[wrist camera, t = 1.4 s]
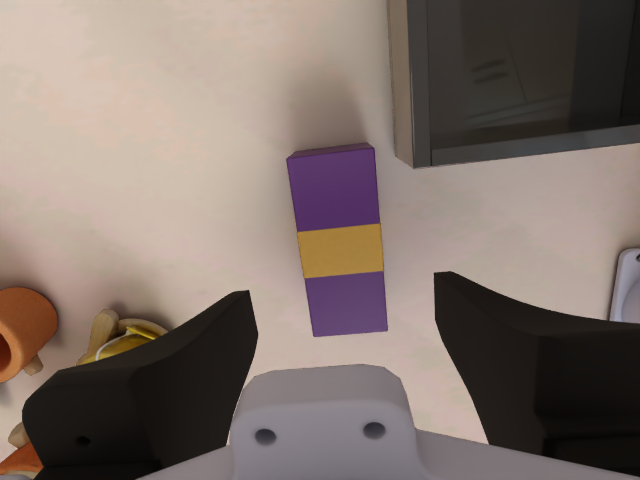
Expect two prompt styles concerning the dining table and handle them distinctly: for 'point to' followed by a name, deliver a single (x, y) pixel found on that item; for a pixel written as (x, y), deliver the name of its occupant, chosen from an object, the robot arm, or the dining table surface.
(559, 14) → the sink
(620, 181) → the dining table surface
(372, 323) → the candy bar
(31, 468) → the toy tea set
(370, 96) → the dining table surface
